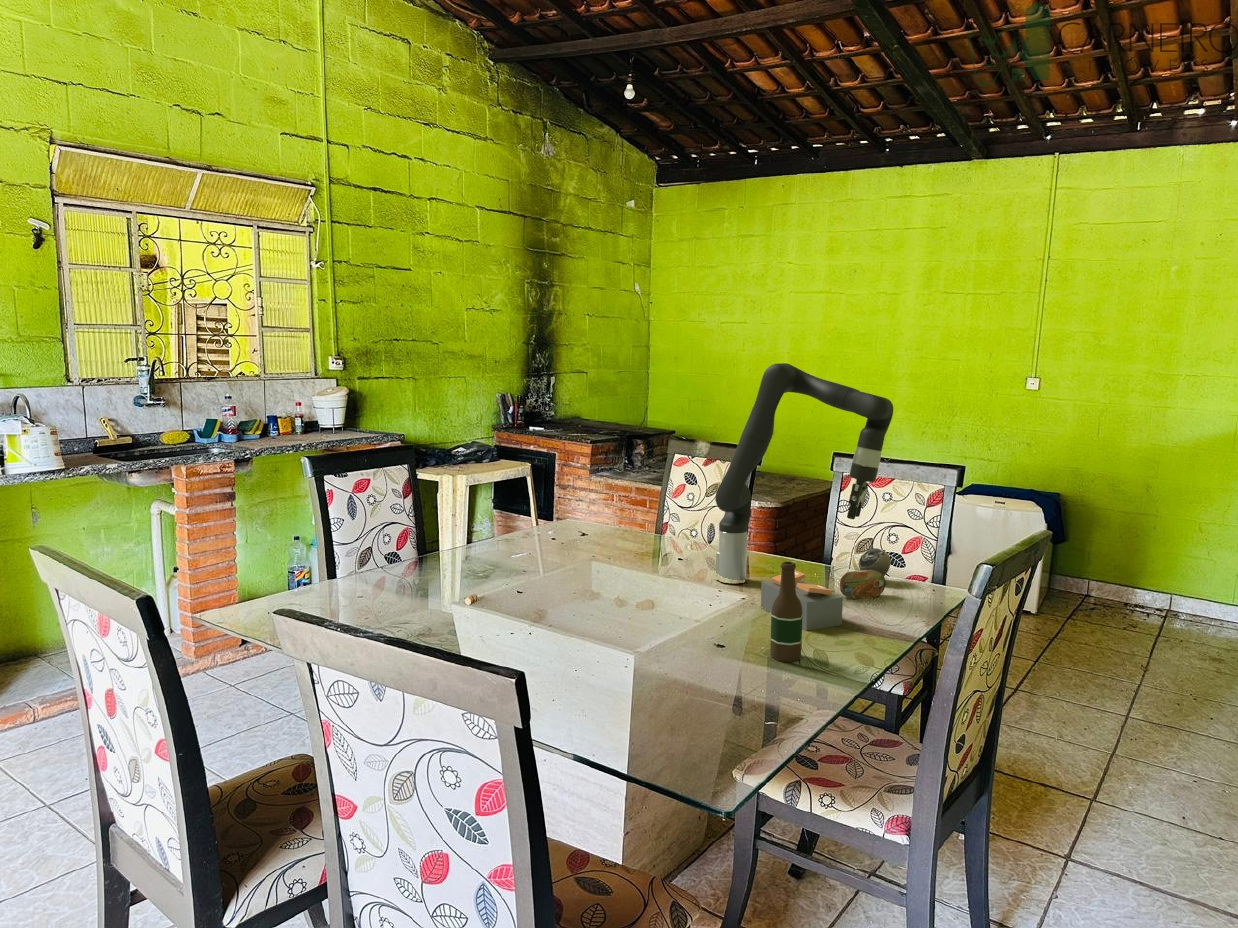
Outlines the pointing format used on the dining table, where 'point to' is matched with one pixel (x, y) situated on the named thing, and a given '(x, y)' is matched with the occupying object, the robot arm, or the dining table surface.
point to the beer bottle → (786, 619)
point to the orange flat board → (814, 588)
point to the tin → (862, 584)
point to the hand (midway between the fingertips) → (853, 517)
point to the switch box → (808, 605)
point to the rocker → (797, 577)
